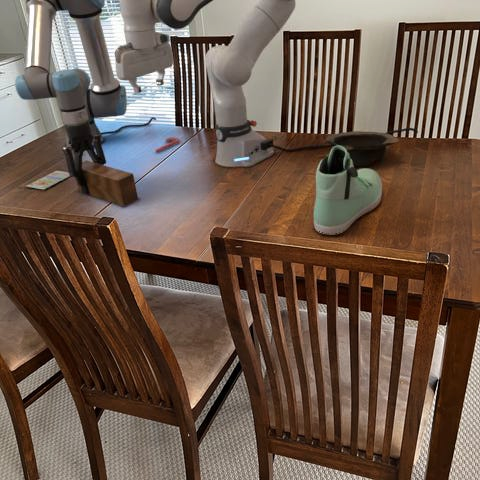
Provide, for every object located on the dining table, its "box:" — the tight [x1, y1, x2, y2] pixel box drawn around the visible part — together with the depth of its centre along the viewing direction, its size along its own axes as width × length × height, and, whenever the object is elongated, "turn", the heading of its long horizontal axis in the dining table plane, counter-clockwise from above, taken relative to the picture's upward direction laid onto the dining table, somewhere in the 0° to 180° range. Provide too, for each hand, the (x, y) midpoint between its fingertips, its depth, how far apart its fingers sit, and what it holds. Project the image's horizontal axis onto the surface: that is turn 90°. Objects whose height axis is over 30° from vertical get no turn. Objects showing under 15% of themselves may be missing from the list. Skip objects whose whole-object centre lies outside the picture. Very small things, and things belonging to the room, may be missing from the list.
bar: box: [74, 159, 139, 208], centre depth 156 cm, size 23×6×9 cm, turn 53°
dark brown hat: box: [324, 130, 399, 167], centre depth 168 cm, size 25×25×9 cm
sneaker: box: [313, 146, 383, 236], centre depth 133 cm, size 14×35×20 cm, turn 152°
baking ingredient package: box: [26, 170, 71, 190], centre depth 172 cm, size 9×1×15 cm
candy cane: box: [155, 136, 180, 153], centre depth 194 cm, size 6×15×2 cm, turn 145°
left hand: (93, 189), depth 162 cm, fingers closed on bar, 6 cm apart
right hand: (149, 88), depth 146 cm, fingers open, 8 cm apart
